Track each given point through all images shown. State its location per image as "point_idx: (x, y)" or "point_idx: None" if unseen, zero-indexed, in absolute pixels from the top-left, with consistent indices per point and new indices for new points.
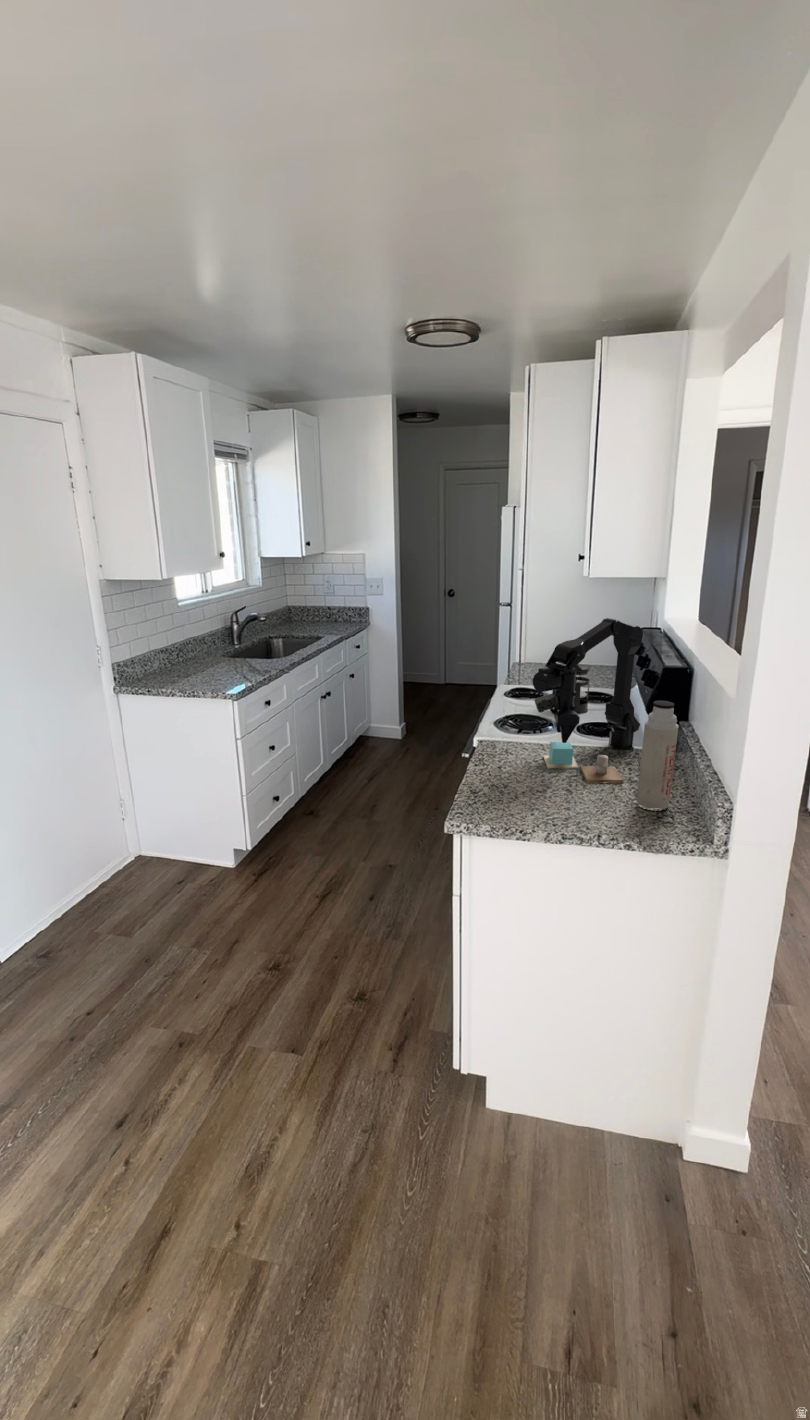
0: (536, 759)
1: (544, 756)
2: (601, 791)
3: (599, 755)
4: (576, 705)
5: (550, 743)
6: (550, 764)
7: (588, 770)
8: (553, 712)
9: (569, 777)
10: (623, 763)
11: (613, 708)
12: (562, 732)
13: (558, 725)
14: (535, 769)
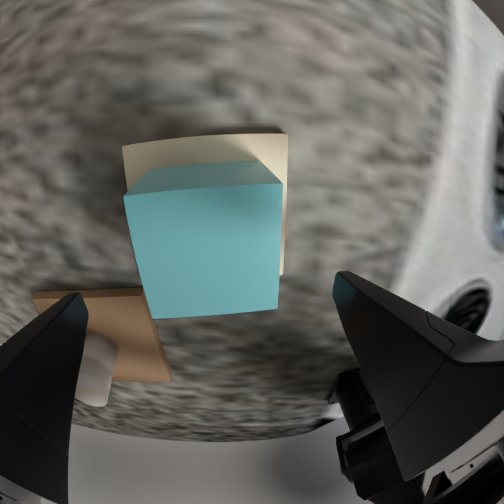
0: (246, 93)
1: (267, 137)
2: (9, 315)
3: (94, 391)
4: None
5: (245, 184)
6: (146, 161)
7: (105, 315)
8: (490, 378)
9: (51, 239)
10: (230, 391)
11: (390, 477)
12: (3, 355)
13: (366, 317)
14: (102, 87)
